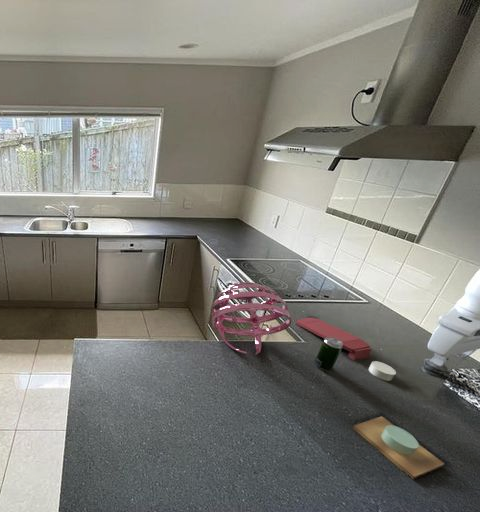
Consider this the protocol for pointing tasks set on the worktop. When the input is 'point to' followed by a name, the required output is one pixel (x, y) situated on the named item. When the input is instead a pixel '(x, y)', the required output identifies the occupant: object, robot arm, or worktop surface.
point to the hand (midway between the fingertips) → (449, 361)
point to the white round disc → (382, 370)
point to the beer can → (328, 353)
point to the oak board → (410, 464)
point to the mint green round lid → (399, 440)
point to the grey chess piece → (433, 367)
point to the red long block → (337, 337)
